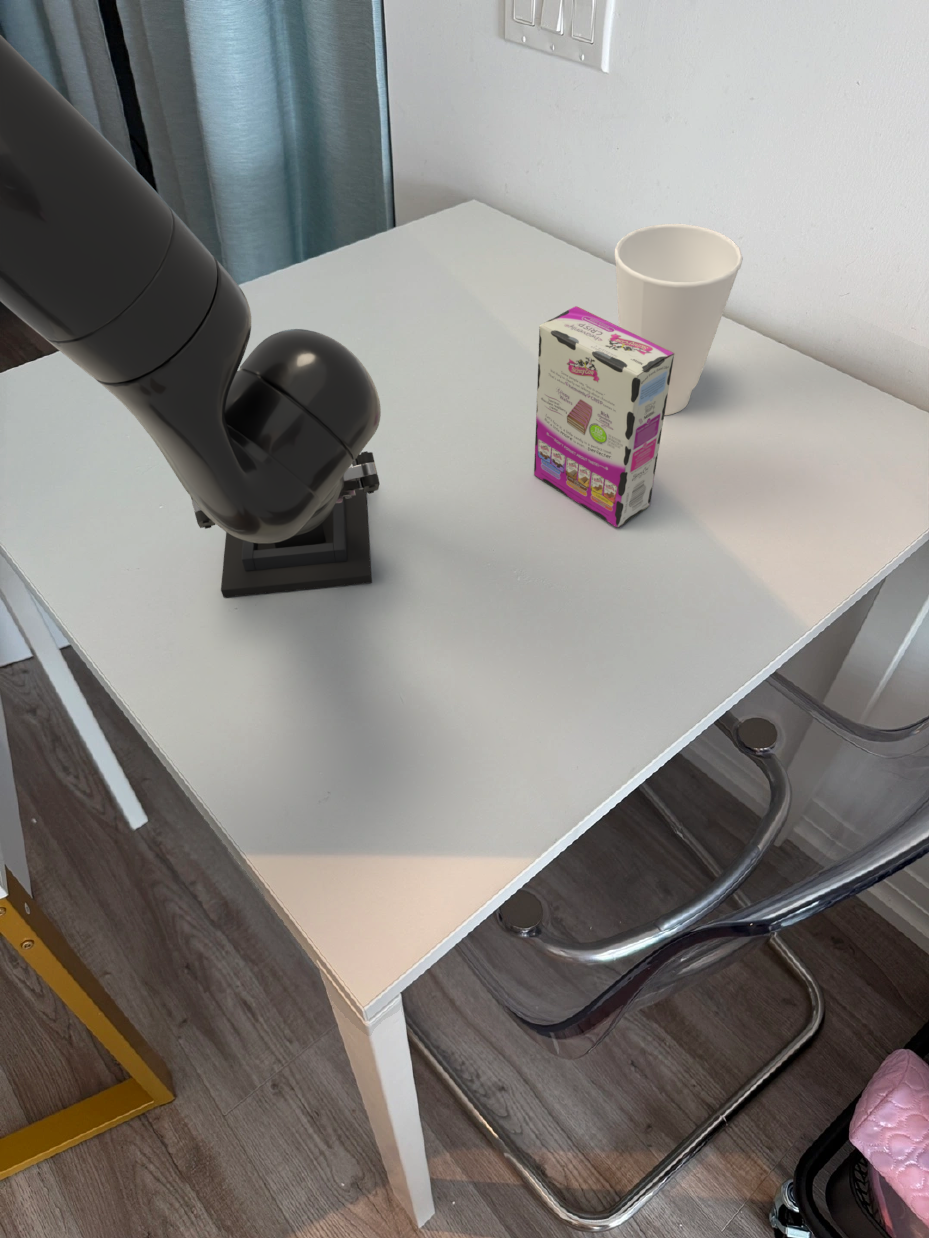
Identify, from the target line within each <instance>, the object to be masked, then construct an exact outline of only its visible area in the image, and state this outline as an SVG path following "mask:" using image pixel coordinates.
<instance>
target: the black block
mask: <svg viewBox="0 0 929 1238" xmlns="http://www.w3.org/2000/svg"><path fill="white" fill-rule="evenodd" d="M324 542H326V539H325V534H324V529H323V523H321V524H320V525H319V526H317V527H316V528H314V529H313V530H311V531H309V532H306V533H304V534H300V535H295V536H292V537H291V538H289V539H287V540H284V541H281V542H276V543H274V544H275V548H285V547H296V546H306V545H315V544H320V543H324Z"/></svg>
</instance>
